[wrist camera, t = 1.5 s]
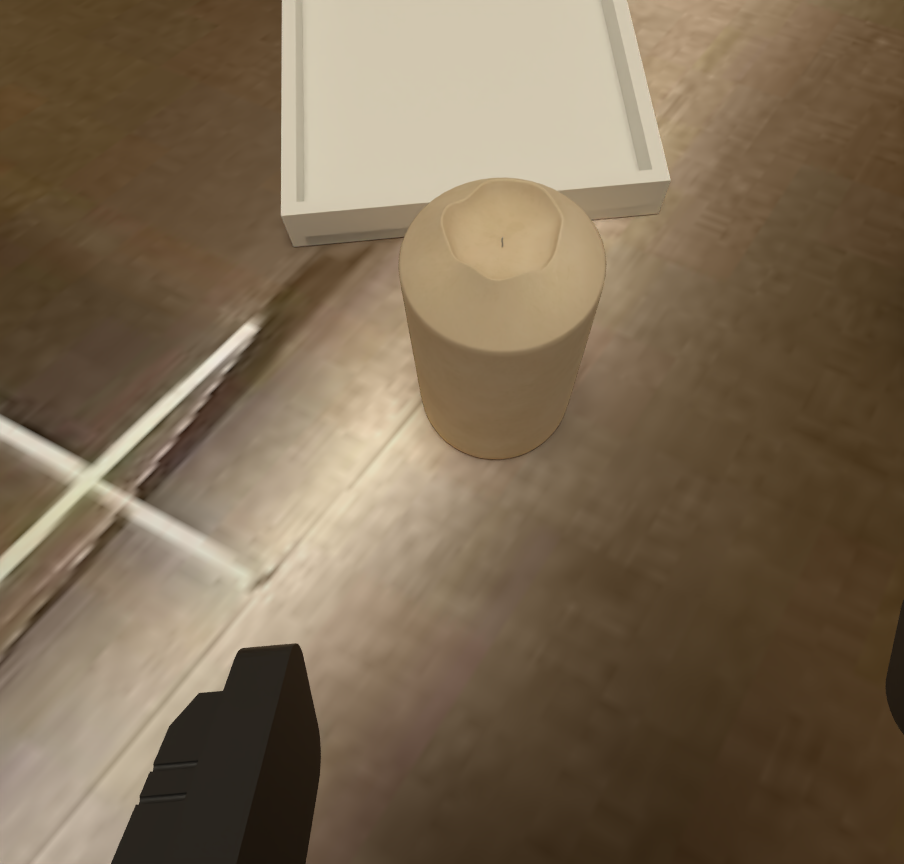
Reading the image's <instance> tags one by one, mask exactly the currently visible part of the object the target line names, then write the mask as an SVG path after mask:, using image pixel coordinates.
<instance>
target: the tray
mask: <svg viewBox="0 0 904 864" xmlns="http://www.w3.org/2000/svg"><path fill="white" fill-rule="evenodd" d="M488 178H518V179H523V180H529V181H533V182H536V183H539V184H543V185H545V186H548V187H550V188H552V189H555V190H556V191H558V192H560V193H562V194H563V195H565V196H567V197H568V198H569V199H571V200H572V201H573V202H575V203H576V204H577V205H578V206H579V207H580V208H581V209H582V210H583V211H584V212H585V213H586V214H587V215H588V217H589V218H590V219H591V220H595V219H606V218H617V217H628V216H638V215H649V214H659V211H660V208H661V206H662V203H663V200H664V197H665V195H666V192H667V189H668V186H669V184H670V181H671V179H670V175H669V171H668V167H667V163H666V159H665V155H664V151H663V147H662V143H661V138H660V134H659V130H658V126H657V122H656V118H655V114H654V110H653V106H652V101H651V97H650V93H649V89H648V85H647V81H646V77H645V73H644V69H643V65H642V60H641V56H640V52H639V48H638V44H637V40H636V36H635V32H634V28H633V24H632V19H631V15H630V11H629V7H628V3H627V0H282V125H281V217H282V219H283V222H284V224H285V227H286V229H287V232H288V234H289V237H290V239H291V242H292V244H293V247H299V246H310V245H321V244H332V243H343V242H354V241H365V240H376V239H387V238H397V237H404V236H405V234H406V232H407V230H408V228H409V226H410V224H411V223H412V221H413V220H414V219H415V217H416V216H417V215H418V214H419V213H420V211H421V210H422V209H423V208H424V207H425V206H426V205H428V204H429V203H430V202H431V201H432V200H434V199H435V198H436V197H438V196H440V195H441V194H443V193H444V192H446V191H448V190H450V189H452V188H454V187H457V186H459V185H462V184H465V183H468V182H472V181H476V180H480V179H488Z"/></svg>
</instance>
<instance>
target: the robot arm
mask: <svg viewBox="0 0 904 864" xmlns="http://www.w3.org/2000/svg"><path fill="white" fill-rule="evenodd" d="M886 695H887V701H888V704H889V708H890V711H891V713H892V716H893V718H894V720H895V722H896V724H897V725H898V727H899V729H900V730H901V731H902V733H903V734H904V600H903V603H902V606H901V611H900V616H899V620H898V625H897V630H896V635H895V639H894V644H893V649H892V653H891V658H890V663H889V667H888V672H887V677H886ZM320 763H321V748H320V735H319V728H318V723H317V718H316V714H315V709H314V704H313V699H312V695H311V690H310V685H309V681H308V676H307V671H306V667H305V662H304V657H303V653H302V650H301V648H300V646H299V645H298V644H296V643H295V644H284V645H273V646H262V647H250V648H242V649H240V650H239V651H238V653H237V654H236V657H235V659H234V662H233V665H232V667H231V670H230V673H229V676H228V679H227V681H226V684H225V687H224V690H223V691H218V692H207V693H199V694H198V695H197V696H196V697H195V698H194V699H193V700H192V702H191V703H190V704H189V705H188V706H187V707H186V708H185V709H184V710H183V712H182V713H181V714H180V715H179V716H178V717H177V718H176V719H175V721H174V722H173V723H172V724H171V725H170V726H169V728H168V731H167V733H166V735H165V738H164V740H163V742H162V745H161V747H160V749H159V752H158V754H157V757H156V759H155V761H154V764H153V765H154V768H153V772H150V773H149V775H148V778H147V780H146V782H145V785H144V787H143V790H142V792H141V794H140V803H139V805H136V806H135V808H134V811H133V813H132V815H131V818H130V820H129V822H128V825H127V827H126V830H125V832H124V834H123V837H122V839H121V841H120V844H119V846H118V848H117V851H116V853H115V855H114V858H113V860H112V862H111V864H305V863H306V857H307V851H308V845H309V839H310V832H311V826H312V820H313V814H314V808H315V802H316V796H317V790H318V783H319V776H320Z"/></svg>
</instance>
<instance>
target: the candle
mask: <svg viewBox="0 0 904 864" xmlns="http://www.w3.org/2000/svg"><path fill="white" fill-rule="evenodd" d="M399 277H400V283H401V289H402V295H403V300H404V306H405V311H406V316H407V322H408V327H409V333H410V338H411V344H412V349H413V355H414V360H415V366H416V371H417V376H418V382H419V387H420V393H421V397H422V401H423V405H424V409H425V412H426V414H427V417H428V419H429V421H430V422H431V424H432V426H433V427H434V429H435V430H436V431H437V432H438V434H439V435H440V436H441V437H442V438H443V439H444V440H445V441H446V442H447V443H449V444H450V445H451V446H453V447H454V448H456V449H458V450H460V451H462V452H463V453H466V454H469V455H471V456H475V457H479V458H484V459H506V458H512V457H516V456H520V455H522V454H525V453H527V452H529V451H531V450H533V449H535V448H537V447H538V446H539V445H541V444H542V443H543V442H545V441H546V440H547V439H548V438H549V437H550V436H551V435H552V433H553V432H554V431H555V430H556V428H557V427H558V426H559V424H560V422H561V420H562V418H563V416H564V414H565V411H566V408H567V406H568V403H569V400H570V397H571V393H572V390H573V387H574V383H575V380H576V377H577V373H578V370H579V367H580V363H581V360H582V357H583V353H584V350H585V347H586V343H587V340H588V336H589V333H590V330H591V326H592V323H593V320H594V316H595V313H596V310H597V306H598V303H599V300H600V296H601V293H602V289H603V285H604V281H605V277H606V255H605V250H604V246H603V242H602V239H601V237H600V235H599V232H598V230H597V229H596V227H595V225H594V224H593V222H592V220H591V219H590V218H589V217H588V215H587V214H586V213H585V212H584V211H583V210H582V209H581V208H580V207H579V206H578V205H577V204H576V203H575V202H573V201H572V200H571V199H569V198H568V197H567V196H565V195H563V194H562V193H560V192H558V191H556V190H555V189H552V188H550V187H548V186H545V185H543V184H539V183H536V182H533V181H529V180H523V179H518V178H488V179H480V180H476V181H472V182H468V183H465V184H462V185H459V186H457V187H454V188H452V189H450V190H448V191H446V192H444V193H443V194H441V195H440V196H438V197H436V198H435V199H434V200H432V201H431V202H430V203H429V204H428V205H426V206H425V207H424V208H423V209H422V210H421V211H420V213H419V214H418V215H417V216H416V217H415V219H414V220H413V221H412V223H411V224H410V226H409V228H408V230H407V232H406V234H405V236H404V239H403V242H402V244H401V249H400V254H399Z"/></svg>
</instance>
